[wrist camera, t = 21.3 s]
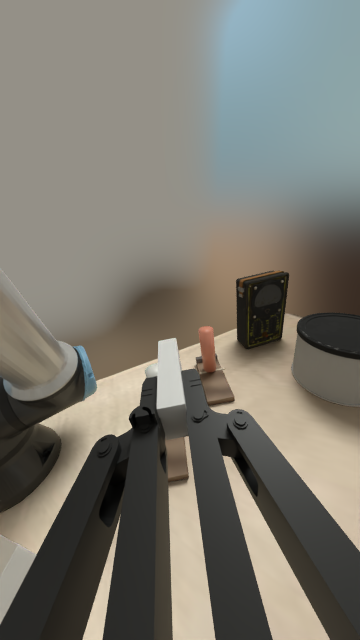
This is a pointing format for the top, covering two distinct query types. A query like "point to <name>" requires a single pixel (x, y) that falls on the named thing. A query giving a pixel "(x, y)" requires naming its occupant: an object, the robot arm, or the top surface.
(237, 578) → the robot arm
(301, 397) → the top surface
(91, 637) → the top surface
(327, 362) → the container
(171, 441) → the brown wooden board
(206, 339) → the terracotta plug
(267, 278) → the voltmeter
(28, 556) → the tall white carton
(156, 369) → the grey plug
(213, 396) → the brown base
